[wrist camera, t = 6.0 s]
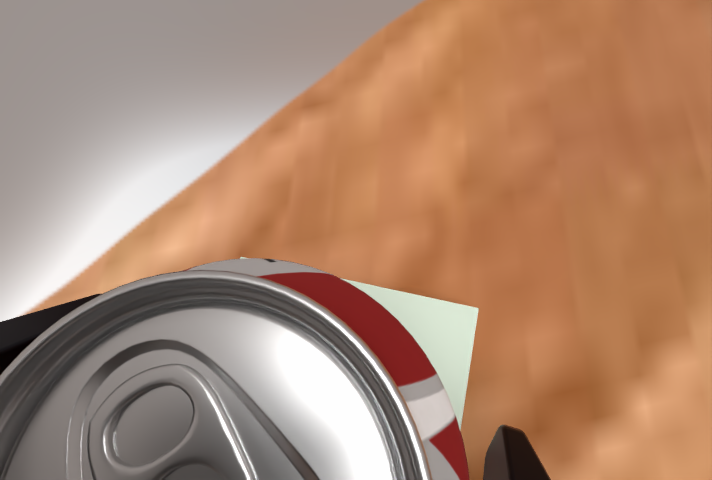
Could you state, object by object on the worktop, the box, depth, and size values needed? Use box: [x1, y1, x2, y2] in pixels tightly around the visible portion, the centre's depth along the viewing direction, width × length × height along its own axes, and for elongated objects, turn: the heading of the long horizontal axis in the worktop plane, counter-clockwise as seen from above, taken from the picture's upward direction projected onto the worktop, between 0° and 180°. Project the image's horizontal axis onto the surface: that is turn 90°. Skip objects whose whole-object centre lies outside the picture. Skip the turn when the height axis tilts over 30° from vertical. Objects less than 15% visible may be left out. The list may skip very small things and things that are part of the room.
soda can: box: [0, 258, 469, 480], centre depth 10 cm, size 7×7×12 cm
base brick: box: [240, 257, 479, 429], centre depth 17 cm, size 10×10×3 cm
